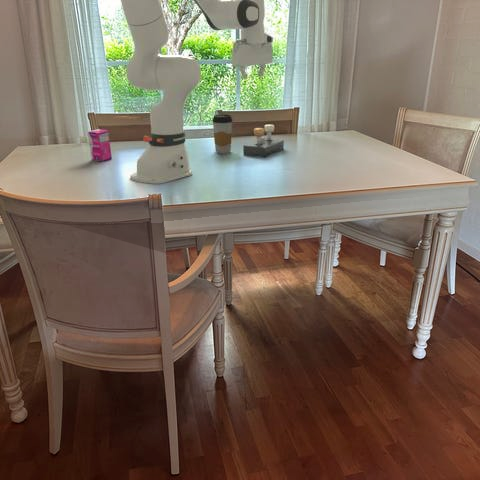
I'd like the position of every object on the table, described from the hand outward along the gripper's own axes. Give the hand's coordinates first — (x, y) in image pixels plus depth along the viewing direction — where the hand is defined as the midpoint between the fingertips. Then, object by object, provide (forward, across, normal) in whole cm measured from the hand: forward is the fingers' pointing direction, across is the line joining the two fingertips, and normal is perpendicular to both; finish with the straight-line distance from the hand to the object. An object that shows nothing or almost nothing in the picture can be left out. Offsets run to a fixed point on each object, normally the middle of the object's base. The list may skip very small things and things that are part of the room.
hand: (252, 77), depth 173 cm
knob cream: (+27, +10, 0) cm, 28 cm away
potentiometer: (+26, +5, 0) cm, 27 cm away
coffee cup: (+30, -6, +12) cm, 33 cm away
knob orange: (+26, +1, -2) cm, 26 cm away
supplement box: (+29, -47, +39) cm, 68 cm away
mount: (+30, +6, -1) cm, 31 cm away
